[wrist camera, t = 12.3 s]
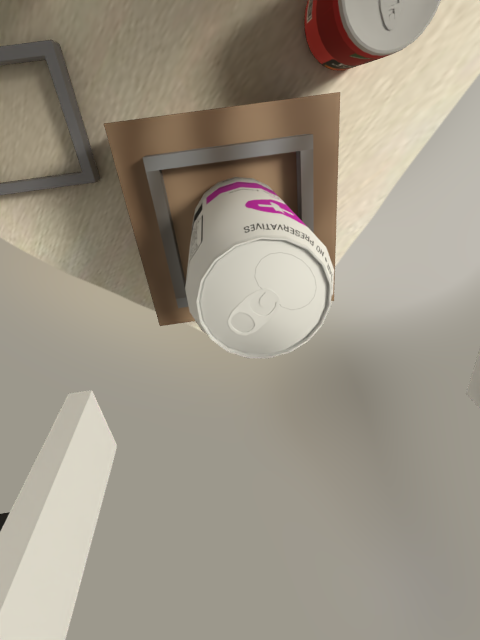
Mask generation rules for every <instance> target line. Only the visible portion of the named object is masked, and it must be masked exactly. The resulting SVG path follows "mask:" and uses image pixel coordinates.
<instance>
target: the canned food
mask: <svg viewBox="0 0 480 640" xmlns="http://www.w3.org/2000/svg"><path fill="white" fill-rule="evenodd" d="M440 1H441V0H308V2H307V6H306V11H305V34H306V39H307V43H308V45H309V48H310V50H311V52H312V54H313V55H314V57H315V58H316V59H317V60H318V61H319V63H321V64H322V65H323V66H325V67H327V68H329V69H332V70H346V69H350V68H353V67H356V66H359V65H362V64H365V63H368V62H371V61H374V60H377V59H380V58H383V57H386V56H388V55H391V54H393V53H396V52H398V51H400V50H402V49H403V48H405V47H407V46H408V45H409V44H411V43H412V42H414V41H415V40H416V39H417V38H418V37H419V36H420V35H421V34H422V33H423V31H424V30H425V29H426V27H427V26H428V25H429V23H430V22H431V20H432V18H433V16H434V14H435V13H436V11H437V8H438V6H439V3H440Z"/></svg>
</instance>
